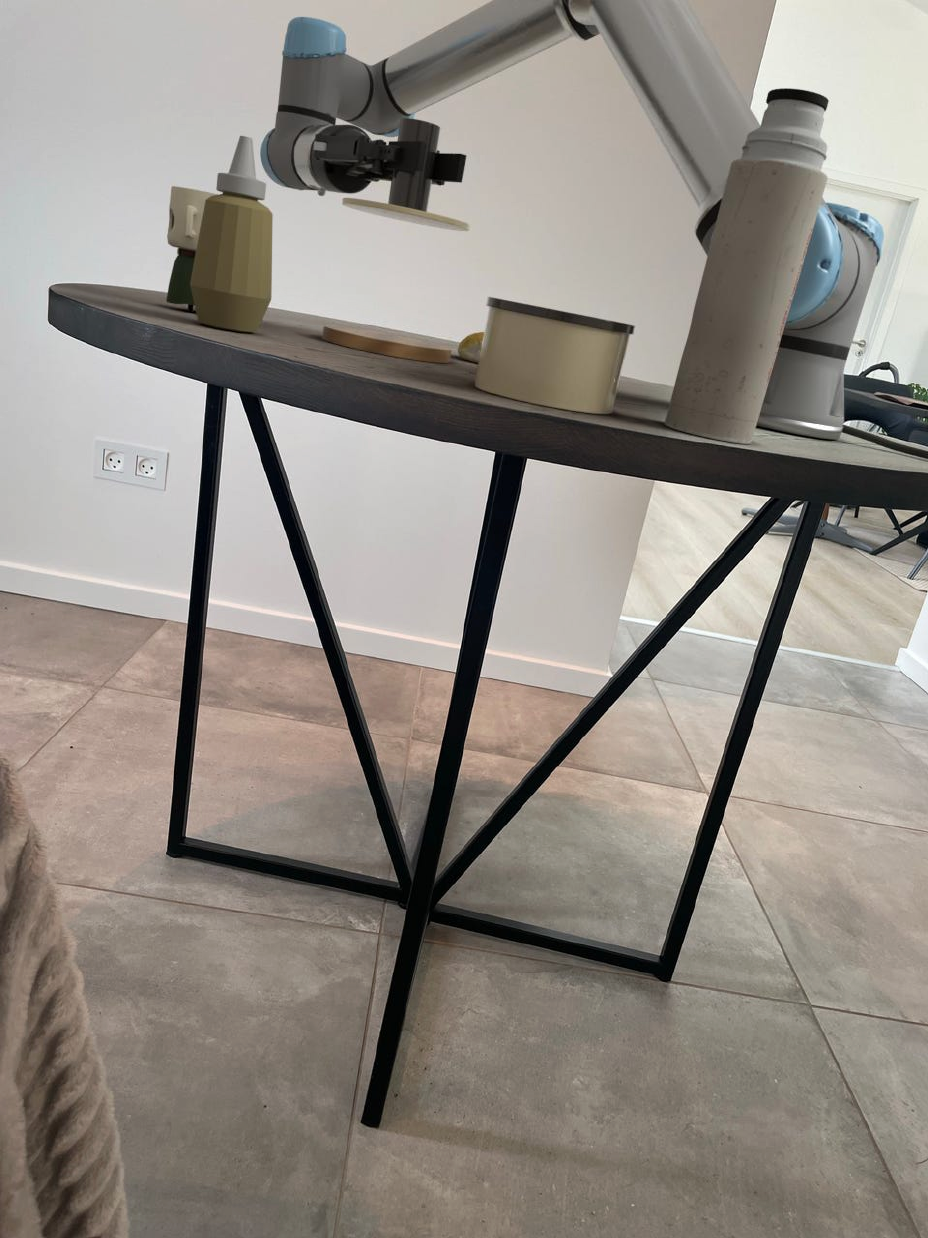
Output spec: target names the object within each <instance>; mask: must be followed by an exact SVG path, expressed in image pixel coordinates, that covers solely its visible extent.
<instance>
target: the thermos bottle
mask: <svg viewBox="0 0 928 1238" xmlns="http://www.w3.org/2000/svg"><path fill="white" fill-rule="evenodd" d="M829 102H830V101H829V99H828V97H826V96H825V95H822V94H820V93H817V92H814V91H811V90H806V89H800V88H790V87H789V88H775V89H771V90H769V91H768V93H767V96H766V100H765V103H766V105H767V108H766V109H765V110H764V112H763V116H762V120H761V121H760V122H761V123H760V127H759V128H758V129H756V130H754V131H752V132H750V133H749V134H748V135H747V139H746V142H745V145H744V146H743V147H742V150H743V154H742V157H741V159H737V160H734V161H733V162H732V163H731V167H730V171H729V174H728V178H727V182H726V186H725V190H724V194H723V198H722V202H721V206H720V210H719V213H718V217H717V221H716V225H715V229H714V233H713V237H712V241H711V245H710V249H709V252H708V256H707V255H706V257H707V258H706V261H705V265H704V269H703V272H702V277H701V281H700V284H699V288H698V291H697V296H696V300H695V302H694V303H695V304H694V307H693V313H692V317H691V323H690V326H689V331H688V335H687V338H686V341H685V345H684V347H683V351H682V355H681V358H680V362H679V366H678V369H677V374H676V378H675V381H674V384H673V385H674V386H673V389H672V393H671V396H670V401H669V404H668V409H667V413H666V416H665V420H664V426H666V427H668V428H670V429H673V430H676V431H678V432H679V431H680V432H681V433H682V432H683V433H685V434H686V433H687V434H691V435H694V436H698V437H703V438H707V439H712V440H716V441H722V442H726V443H734V444H744V445H749V444H751V443H752V442H753V437H754V434H755V431H756V427H757V426H756V424H757V421H758V417H759V414H760V411H761V407H762V404H763V400H764V397H765V393H766V390H767V386H768V383H769V379H770V376H771V372H772V369H773V366H774V362H775V359H776V355H777V352H778V348H779V344H780V340H781V336H782V333H783V329H784V325H785V322H786V318H787V315H788V312H789V308H790V305H791V302H792V299H793V296H794V293H795V289H796V286H797V283H798V279H799V276H800V272H801V269H802V265H803V262H804V258H805V255H806V251H807V248H808V245H809V241H810V238H811V234H812V231H813V227H814V224H815V220H816V217H817V213H818V210H819V206H820V203H821V200H822V197H823V196H824V193H825V189H826V186H827V182H828V177H829V176H828V175H827V174H826V173H825V172H823V171H822V168H823V164H824V161H826V160H827V157H828V155H827V154H826V153H827V150H828V145H827V143H826V141H825V140H824V139H823V138H822V137H821V132H822V130H823V129H822V128H823V126H824V122H825V118H824V114H825V112H826V111H827V109H828V105H829Z"/></svg>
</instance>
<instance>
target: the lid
mask: <svg viewBox="0 0 928 1238" xmlns="http://www.w3.org/2000/svg"><path fill="white" fill-rule="evenodd" d="M440 134H441V126H439V125H438V124H435V123H433V122H429V121H426V120H422V119H416V118H414V119H411V118H401V120H400V127H399V133H398V136H397V139H396V141H422V142H425V143H427V149H426V156H425V162H424V168H423V171H402V170H393V174H392V180H391V181H390V187H389V193H388V194H389V196H388V202H387V203H385V202H380V201H374V200H368V199H361V198H354V197H343V198H342V199H341V205H342V206H344V207H347V208H350V209H353V210H356V211H360V212H363V213H367V214H371V215H375V216H380V217H383V218H387V219H392V220H397V221H401V222H406V223H412V224H417V225H422V226H426V227H432V228H436V229H437V228H438V229H445V230H450V231H457V232H469V231H470V228H471V225H470V224H469V223H467V222H465V221H462V220H459V219H455V218H453V217H449V216H444V215H441V214H438V213H432V212H428V208H429V202H430V195H431V189H432V185H433V184H432V178H433V172H434V166H435V159H436V153H437V150H438V145H439V140H440Z"/></svg>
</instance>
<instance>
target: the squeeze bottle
mask: <svg viewBox="0 0 928 1238" xmlns="http://www.w3.org/2000/svg"><path fill="white" fill-rule="evenodd" d="M253 141H254V140H253V138H252V137H249V136H245V135H239V138H238V141H237V144H236V148H235V150H234V154H233V158H232V160H231V164H230V167H229V169H228V172H218V173H217V175H216V176H217V177H216V188H215V189H216V191H218V192H220V193H219V194H218V195H214V196H211V197H209V198H208V199H206V200H205V206H204V211H203V217H202V222H201V227H200V233H199V238H198V244H197V249H196V255H195V260H194V265H193V271H192V276H191V282H190V286H191V291H192V295H193V300H194V304H195V306H194V310H195V309H196V310H195V313H196V317H197V321H198V322H199V323H201V324H203V325H205V326H207V327H210V328H213V329H218V330H224V331H230V332H235V333H236V332H237V333H246V334H249V333H257V332H258V330H259V328H260V325H261V323H262V321H263V318H264V316H265V314H266V312H267V310H268V308H269V305H270V304H271V302H272V289H273V287H272V285H273V279H272V278H273V274H272V273H273V219H274V218H273V214H274V213H273V212H272V211H271V210H270V208H268V206H266V205H265V204H263V203H262V202H260V201H265V199H266V190H267V183H266V182H264V181H262V180H260V179H257V173H256V172H257V171H256V163H255V154H254V153H255V152H254V142H253Z"/></svg>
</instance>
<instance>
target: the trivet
mask: <svg viewBox="0 0 928 1238" xmlns="http://www.w3.org/2000/svg"><path fill="white" fill-rule="evenodd" d="M321 339H322V340H323V341H326V342H328V343H332V344H335V345H338V346H342V347H346V348H351V349H353V350H359V351H364V352H368V353H373V354H378V355H382V356H388V357H394V358H400V359H405V360H412V361H417V362H418V361H419V362H427V363H437V364H448V363H450V360H451V354H452V348H451V347H448V346H446V345H442V344H438V343H434V342H431V341H427V340H422V339H417V338H413V337H407V336H403V335H399V334H395V333H389V332H382V331H377V330H372V329H365V328H360V327H353V326H347V325H339V324H323V327H322V335H321Z"/></svg>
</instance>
